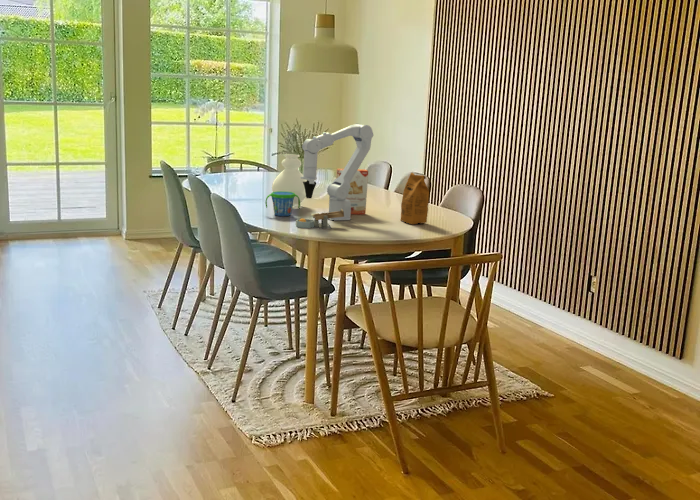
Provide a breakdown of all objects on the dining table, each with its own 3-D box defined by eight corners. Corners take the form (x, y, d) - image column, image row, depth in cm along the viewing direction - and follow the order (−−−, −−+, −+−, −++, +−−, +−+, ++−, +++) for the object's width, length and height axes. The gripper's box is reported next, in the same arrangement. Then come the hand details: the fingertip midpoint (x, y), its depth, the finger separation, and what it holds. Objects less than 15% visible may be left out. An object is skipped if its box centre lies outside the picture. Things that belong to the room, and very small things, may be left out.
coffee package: (416, 219, 344) (419, 171, 340) (429, 224, 333) (433, 175, 328) (397, 220, 340) (400, 171, 336) (409, 225, 329) (413, 175, 324)
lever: (340, 212, 326) (339, 206, 326) (344, 217, 315) (343, 211, 314) (311, 215, 325) (311, 209, 324) (314, 221, 313) (314, 214, 312)
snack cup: (265, 216, 332) (265, 194, 330) (265, 212, 343) (265, 190, 340) (300, 217, 334) (300, 195, 332) (299, 213, 344) (300, 191, 342)
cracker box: (337, 214, 346) (339, 169, 342) (334, 212, 352) (336, 168, 347) (366, 214, 350) (368, 170, 345) (362, 212, 356) (364, 168, 351)
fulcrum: (328, 224, 322) (329, 212, 321) (331, 228, 313) (331, 216, 312) (313, 224, 321) (313, 212, 320) (315, 228, 312) (316, 216, 311)
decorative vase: (303, 211, 351) (304, 157, 346) (266, 208, 355) (268, 155, 349) (312, 205, 368) (314, 154, 363) (277, 202, 372) (279, 152, 366)
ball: (298, 223, 317) (305, 223, 318) (298, 226, 314) (305, 227, 315) (299, 216, 316) (306, 217, 316) (299, 219, 313) (306, 220, 314)
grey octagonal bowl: (312, 224, 320) (312, 219, 320) (314, 228, 313) (314, 222, 312) (295, 224, 319) (295, 218, 318) (296, 227, 312) (297, 222, 311)
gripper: (299, 164, 330) (297, 195, 333) (303, 168, 316) (301, 200, 319) (314, 165, 331) (313, 195, 334) (319, 169, 317) (318, 200, 320)
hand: (308, 198), depth 327 cm, fingers closed
